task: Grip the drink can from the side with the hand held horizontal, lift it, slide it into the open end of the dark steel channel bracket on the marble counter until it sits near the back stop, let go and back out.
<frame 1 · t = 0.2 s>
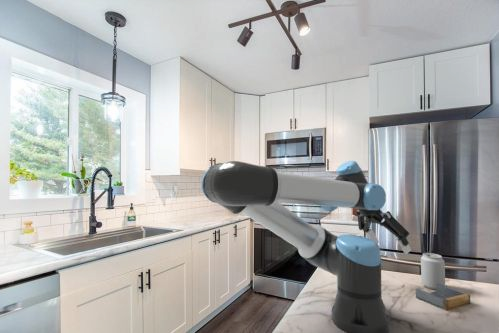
hand: (391, 247, 100), 15 cm above the countertop, tool tilted 35°, fingers open, 13 cm apart
channel bracket: (442, 300, 90), on the countertop
can: (433, 287, 102), on the countertop
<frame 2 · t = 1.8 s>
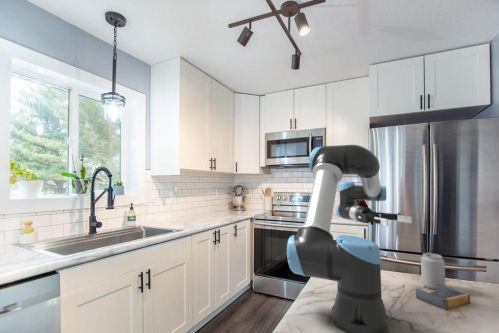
hand: (399, 221, 112), 23 cm above the countertop, tool horizontal, fingers open, 13 cm apart
nothing on the countertop moved.
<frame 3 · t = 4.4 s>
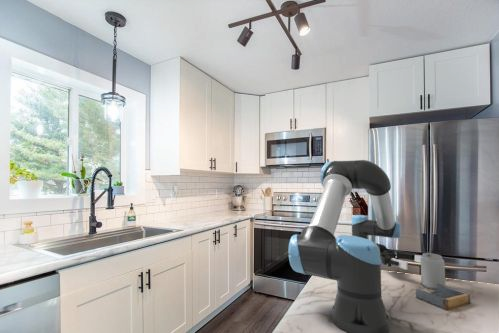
hand: (419, 264, 108), 7 cm above the countertop, tool horizontal, fingers open, 13 cm apart
nothing on the countertop moved.
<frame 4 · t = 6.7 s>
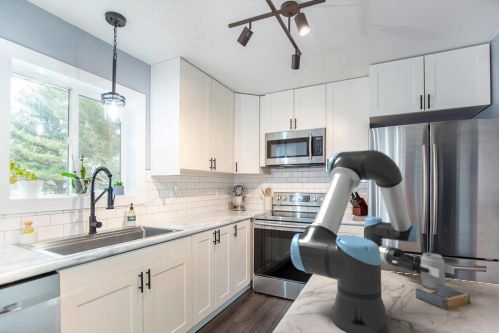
hand: (446, 271, 98), 7 cm above the countertop, tool horizontal, fingers closed on can, 7 cm apart
can: (433, 287, 102), on the countertop, touching gripper
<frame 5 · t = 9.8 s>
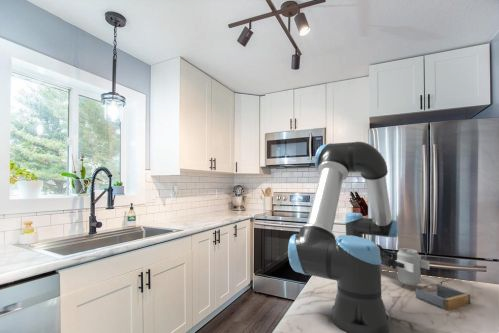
hand: (421, 267, 97), 9 cm above the countertop, tool horizontal, fingers closed on can, 7 cm apart
can: (409, 282, 101), point 2 cm above the countertop, touching gripper
when the fingers open (9 cm above the countertop, at t = 12.9 s): can drops 1 cm, resting on channel bracket.
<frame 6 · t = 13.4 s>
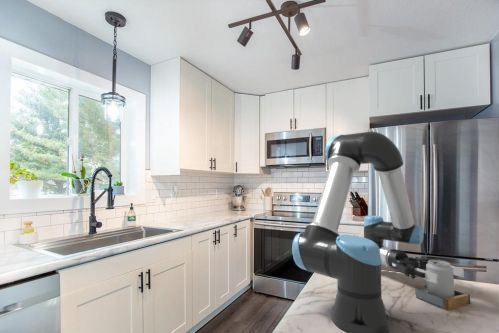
hand: (450, 276, 88), 9 cm above the countertop, tool horizontal, fingers open, 13 cm apart
can: (440, 298, 91), resting on channel bracket
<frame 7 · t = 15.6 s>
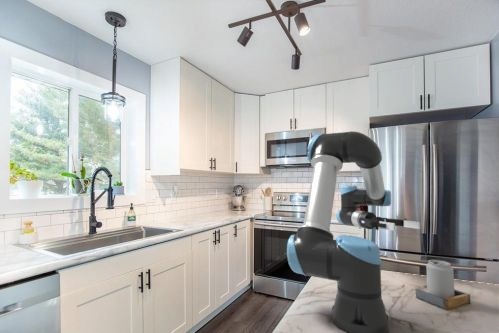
hand: (407, 226, 103), 23 cm above the countertop, tool horizontal, fingers open, 13 cm apart
nothing on the countertop moved.
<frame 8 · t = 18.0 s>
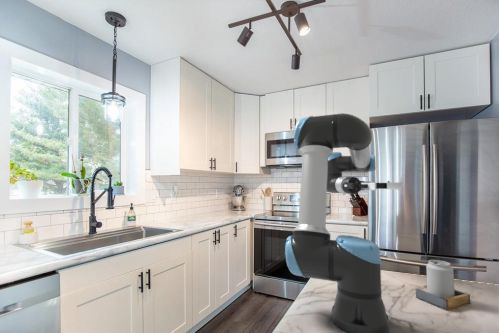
hand: (389, 186, 101), 38 cm above the countertop, tool horizontal, fingers open, 13 cm apart
nothing on the countertop moved.
at the end: can inside the target area on the channel bracket (0.2 cm from its centre), point 0.4 cm above the channel bracket's base; can tilted 0°; the gripper is holding nothing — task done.
